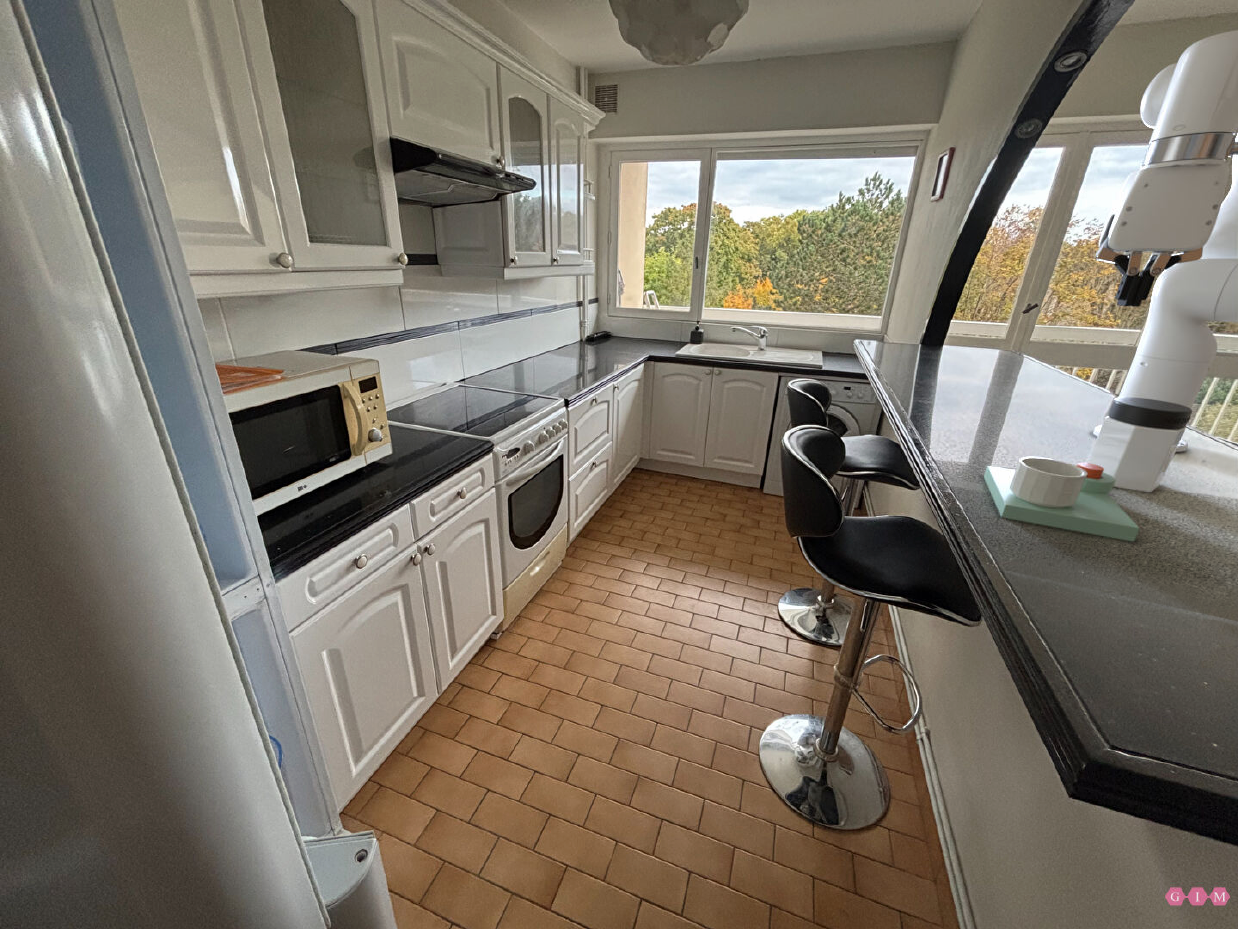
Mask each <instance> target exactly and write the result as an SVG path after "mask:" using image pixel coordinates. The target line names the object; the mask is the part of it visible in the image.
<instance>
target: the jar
mask: <svg viewBox="0 0 1238 929" xmlns="http://www.w3.org/2000/svg"><path fill="white" fill-rule="evenodd" d="M1192 413H1193V409H1192V408H1191V409H1190V408H1189V407H1186V406H1183V405H1179V404H1175V403H1171V402H1165V401H1160V400H1153V399H1145V398H1133V397H1120V398H1118V397H1116V398H1114V399H1113V400H1112V403H1111V406H1110V408H1109V411H1108V413H1107V416H1105V417H1104V418H1103V421H1102V423H1101V425H1100V426H1101V428H1100V431H1099V434H1098V436H1096V438H1095V441H1094V443H1093V446H1092V448H1091V451H1090V454H1089V456H1088V459H1087V462H1086V463H1090V464H1095V465H1098V466H1101V467H1103V468H1104V471H1103V473H1106V474H1108V475H1111V476H1112V477H1113V478H1114V479H1115V480H1116V481H1115V484H1114V486H1113V488H1118V489H1124V490H1130V491H1131V490H1132V491H1136V492H1137V491H1138V492H1144V493H1152V492H1153V491H1154V490H1155V489H1157V488H1158V487H1160V486H1161V483H1162V481H1163V479H1164V477H1165V475H1166V472H1167V470H1168V468H1169V466H1170V464H1171V462H1172V460H1173V458H1174V456H1175V454H1176V453H1177V452H1176V449H1177V447H1178V444H1179V442H1180V440H1181V439H1183V436H1184V434H1185V431H1186V429H1187V425H1188V423H1189V422H1190V420H1191V418H1192V417H1191V415H1192Z"/></svg>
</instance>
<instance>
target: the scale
mask: <svg viewBox="0 0 1238 929" xmlns="http://www.w3.org/2000/svg"><path fill="white" fill-rule="evenodd" d="M1015 470H1016V469H1012V468H1006V467H1005V468H1004V467H998V466H991V465H987V466H986V468H985V471H984V475H983V478H984V481H985V483H986V485H987V488H988V490H989V492H990V494H991V497H992V499H993V501H994V504H995V505H996V508H997V511H998V513H999V515H1000V518H1004V519H1009V520H1015V521H1019V522H1020V521H1021V522H1026V523H1031V524H1037V525H1042V526H1046V527H1047V526H1048V527H1053V528H1057V529H1063V530H1068V531H1075V532H1079V533H1085V534H1090V535H1096V536H1101V537H1107V538H1112V539H1117V540H1123V541H1129V542H1133V543H1134V542H1135V540H1136V539H1137V536H1138V533H1139V532H1140V529H1141V527H1139V525H1137V523H1135V521H1134V520H1133V519H1132V518H1131V517H1130V516H1129V515H1128V513H1127V512H1126V511H1125V510H1123V509H1122V508H1121V506H1120V505H1119V504H1118V502H1116V500H1114V499H1113V498H1112V497H1111V496H1110V495H1109V494H1108V493H1110V492H1112V490H1113V489H1114V487H1113V486H1114V484H1115V481H1116V480H1115V479H1114V478H1113V477H1112V476H1111V475H1108V474H1106V473H1102V476H1101V478H1100V479H1093V478H1087V477H1086V479H1085V482H1084V484H1083V487H1082V490H1081V492H1080V495H1079V497H1078V500H1077V502H1076V504H1075V505H1072V506H1067V507H1063V508H1052V507H1045V506H1040V505H1036V504H1033V503H1030V502H1027V501H1025V500H1023V499H1021V498H1019V497H1017V496H1016V495H1015V493H1013V492H1012V491H1011V489H1010V485H1011V482H1012V479H1013V476H1014V473H1015Z"/></svg>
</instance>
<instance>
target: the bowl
mask: <svg viewBox="0 0 1238 929" xmlns="http://www.w3.org/2000/svg"><path fill="white" fill-rule="evenodd" d="M1014 470H1015V473H1014V476H1013V479H1012V482H1011V485H1010V489H1011V491H1012V492H1013V493H1015V495H1016V496H1017V497H1019V498H1021V499H1023V500H1025V501H1027V502H1030V503H1033V504H1036V505H1040V506H1045V507H1052V508H1063V507H1067V506H1072V505H1075V504H1076V502H1077V500H1078V497H1079V495H1080V492H1081V490H1082V487H1083V484H1084V482H1085V479H1086V477H1087V474H1088V473H1087V472H1086V471H1085V470H1084V469H1082V468H1080V467H1078V466H1077V465H1076V464H1073V463H1069V462H1066V461H1062V460H1058V459H1054V458H1048V457H1041V456H1040V457H1039V456H1026V457H1021V458H1020V459H1018V461H1017V463H1016V467H1015V469H1014Z"/></svg>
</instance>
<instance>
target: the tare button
mask: <svg viewBox="0 0 1238 929" xmlns="http://www.w3.org/2000/svg"><path fill="white" fill-rule="evenodd" d="M1076 466H1078V467H1080V468H1082V469H1084V470H1085V471H1086V472H1087V473H1088V474H1087V478H1093V479H1100V478H1101V476H1102V473H1103V471H1104V468H1103V467H1101V466H1098V465H1095V464H1090V463H1087V462H1077V463H1076Z"/></svg>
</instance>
